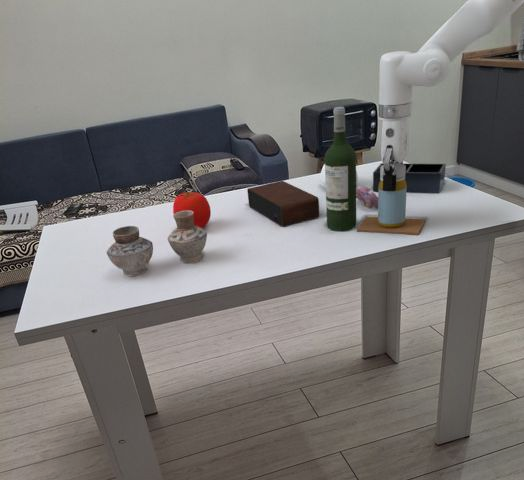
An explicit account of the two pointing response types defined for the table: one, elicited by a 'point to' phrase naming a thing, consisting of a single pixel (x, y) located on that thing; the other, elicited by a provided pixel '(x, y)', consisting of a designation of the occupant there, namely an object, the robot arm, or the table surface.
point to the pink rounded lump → (366, 197)
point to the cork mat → (407, 228)
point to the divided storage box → (418, 178)
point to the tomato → (193, 207)
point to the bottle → (392, 200)
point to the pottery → (140, 249)
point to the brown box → (283, 203)
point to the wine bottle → (340, 178)
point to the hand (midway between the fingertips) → (392, 185)
